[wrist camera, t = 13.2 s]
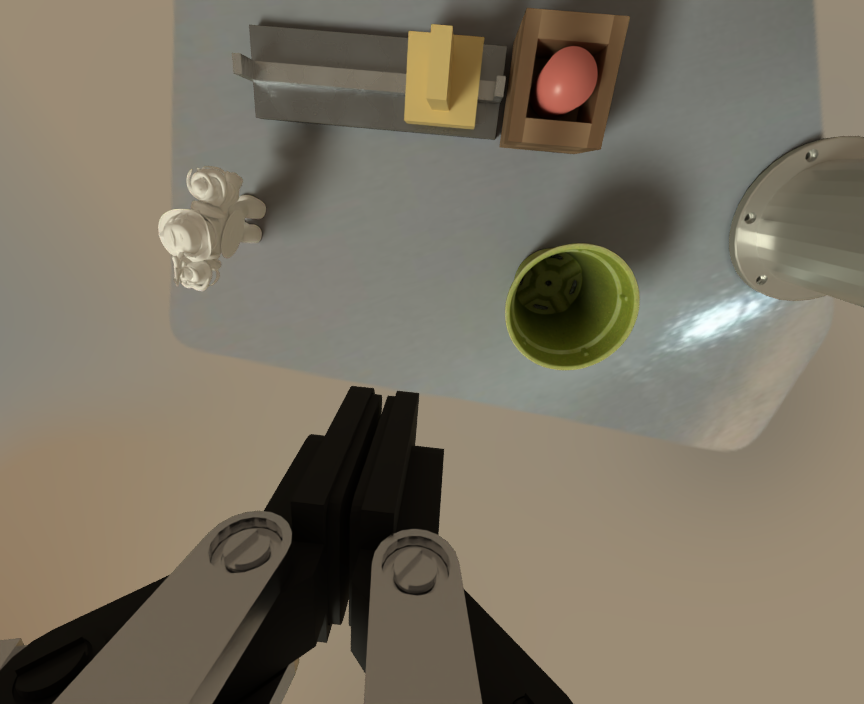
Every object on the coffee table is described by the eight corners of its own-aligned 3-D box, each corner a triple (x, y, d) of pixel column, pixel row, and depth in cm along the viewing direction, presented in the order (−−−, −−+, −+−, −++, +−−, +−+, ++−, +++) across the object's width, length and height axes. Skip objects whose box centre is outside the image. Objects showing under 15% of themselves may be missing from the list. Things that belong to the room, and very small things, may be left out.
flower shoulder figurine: (261, 273, 39) (183, 312, 28) (221, 257, 39) (126, 290, 28) (285, 177, 36) (205, 179, 25) (240, 158, 35) (140, 151, 24)
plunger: (581, 68, 29) (603, 48, 24) (570, 121, 30) (590, 111, 25) (534, 64, 29) (548, 43, 24) (526, 117, 30) (537, 107, 26)
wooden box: (595, 49, 31) (630, 16, 24) (574, 154, 34) (600, 149, 27) (513, 42, 31) (527, 7, 25) (499, 147, 34) (508, 141, 27)
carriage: (482, 49, 30) (488, 11, 23) (473, 130, 32) (476, 118, 25) (413, 44, 30) (398, 3, 23) (409, 124, 32) (393, 111, 25)
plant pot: (616, 237, 36) (660, 255, 28) (585, 338, 40) (615, 379, 32) (508, 220, 36) (521, 233, 28) (487, 322, 40) (493, 360, 32)
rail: (505, 49, 31) (511, 33, 27) (494, 139, 34) (498, 135, 30) (255, 28, 32) (228, 10, 28) (261, 118, 34) (237, 112, 30)
